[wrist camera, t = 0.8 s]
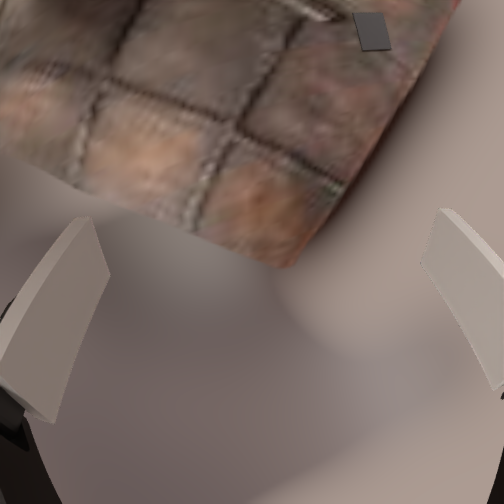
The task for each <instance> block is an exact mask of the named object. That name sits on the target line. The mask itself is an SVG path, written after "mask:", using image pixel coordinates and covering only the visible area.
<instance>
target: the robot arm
mask: <svg viewBox="0 0 504 504" xmlns="http://www.w3.org/2000/svg"><path fill="white" fill-rule="evenodd" d="M420 264H421V266H422V267H423V269H424V270H425V272H426V273H427V275H428V276H429V278H430V279H431V281H432V282H433V283H434V285H435V287H436V288H437V290H438V291H439V293H440V294H441V296H442V297H443V299H444V301H445V302H446V304H447V305H448V307H449V309H450V310H451V312H452V314H453V315H454V317H455V319H456V320H457V322H458V324H459V326H460V327H461V329H462V331H463V333H464V334H465V336H466V338H467V340H468V342H469V344H470V345H471V347H472V349H473V351H474V353H475V355H476V357H477V359H478V361H479V363H480V365H481V367H482V369H483V371H484V373H485V375H486V377H487V379H488V381H489V383H490V386H491V388H492V390H495V389H497V388H499V387H501V386H503V385H504V262H503V261H502V260H501V259H500V258H499V257H498V255H497V254H496V253H495V252H494V251H493V250H492V249H491V248H490V247H489V246H488V244H487V243H486V242H485V241H484V240H483V239H482V238H481V237H480V236H479V235H478V234H477V233H476V232H475V231H474V230H473V229H472V228H471V227H470V226H469V225H468V224H467V223H466V222H465V221H464V220H463V219H462V218H461V217H460V216H459V215H458V214H457V213H455V212H454V211H453V210H452V209H447V208H438V211H437V215H436V218H435V221H434V224H433V227H432V231H431V234H430V237H429V240H428V243H427V246H426V249H425V252H424V254H423V257H422V260H421V262H420ZM110 276H111V275H110V272H109V270H108V267H107V264H106V261H105V258H104V255H103V253H102V250H101V247H100V244H99V241H98V238H97V235H96V232H95V228H94V225H93V222H92V218H91V216H89V217H79V218H74V219H73V220H72V222H71V223H70V224H69V225H68V226H67V228H66V229H65V230H64V231H63V232H62V234H61V235H60V237H58V239H57V240H56V241H55V243H54V244H53V245H52V247H51V248H50V249H49V250H48V252H47V253H46V254H45V256H44V257H43V258H42V260H41V261H40V263H39V264H38V265H37V267H36V268H35V270H34V271H33V272H32V274H31V275H30V277H29V278H28V280H27V281H26V283H25V284H24V286H23V287H22V289H21V290H20V292H19V293H18V295H17V296H16V297H15V298H14V299H13V300H12V301H11V302H10V303H9V304H8V305H7V307H6V308H5V310H4V312H3V313H2V315H1V317H0V318H1V319H0V504H62V502H61V500H60V498H59V497H58V495H57V493H56V490H55V488H54V486H53V484H52V482H51V480H50V478H49V475H48V473H47V471H46V469H45V466H44V464H43V461H42V459H41V457H40V454H39V451H38V449H37V446H36V443H35V441H34V438H33V435H32V432H31V429H30V426H29V423H28V421H27V419H26V418H25V417H24V416H23V415H24V411H25V410H27V411H28V412H29V413H30V414H31V415H32V416H34V417H35V418H36V419H39V420H42V421H45V422H48V423H51V424H55V421H56V418H57V414H58V411H59V407H60V404H61V401H62V397H63V394H64V391H65V388H66V385H67V382H68V379H69V376H70V373H71V369H72V367H73V364H74V361H75V359H76V356H77V353H78V350H79V348H80V345H81V343H82V340H83V338H84V335H85V332H86V330H87V327H88V325H89V323H90V320H91V318H92V316H93V313H94V311H95V309H96V306H97V304H98V302H99V299H100V297H101V295H102V293H103V291H104V288H105V286H106V284H107V282H108V280H109V278H110ZM501 399H502V400H503V399H504V392H503V394H502V396H501ZM487 504H504V448H503V452H502V456H501V460H500V464H499V467H498V471H497V474H496V478H495V481H494V484H493V487H492V490H491V493H490V496H489V499H488V502H487Z"/></svg>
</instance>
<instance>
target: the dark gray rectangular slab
mask: <svg viewBox="0 0 504 504" xmlns="http://www.w3.org/2000/svg"><path fill="white" fill-rule="evenodd" d="M352 14H353V17H354V20H355V24H356V28H357V31H358V35H359V39H360V43H361V47H362V50H376V49H391V45H390V40H389V36H388V32H387V28H386V24H385V20H384V17H383V13H352Z"/></svg>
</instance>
